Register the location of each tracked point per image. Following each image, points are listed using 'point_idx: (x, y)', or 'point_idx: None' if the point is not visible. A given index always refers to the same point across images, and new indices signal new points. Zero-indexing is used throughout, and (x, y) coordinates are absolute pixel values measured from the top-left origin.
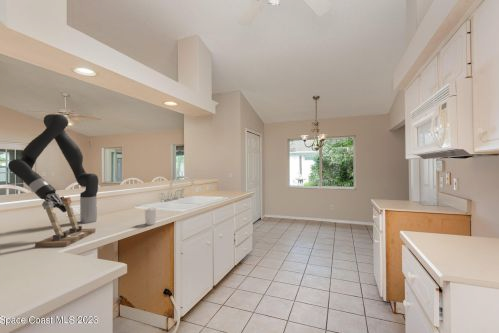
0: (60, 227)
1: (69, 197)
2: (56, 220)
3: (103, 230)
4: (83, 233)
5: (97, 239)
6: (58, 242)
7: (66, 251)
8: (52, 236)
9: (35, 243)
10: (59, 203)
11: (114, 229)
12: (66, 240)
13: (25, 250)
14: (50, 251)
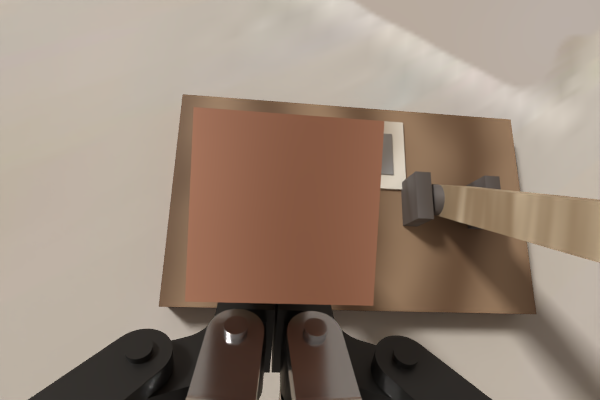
0: (474, 188)
1: (225, 110)
2: (540, 194)
3: (150, 70)
4: (322, 115)
5: (374, 26)
6: (516, 166)
7: (564, 90)
8: (384, 303)
9: (534, 311)
10: (331, 355)
11: (137, 6)
12: (478, 140)
13: (567, 330)
14: (570, 169)
